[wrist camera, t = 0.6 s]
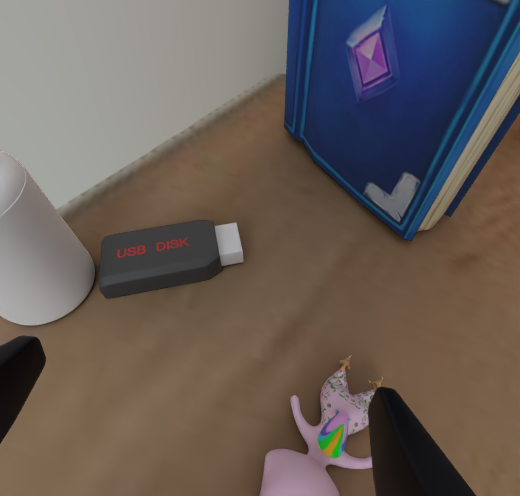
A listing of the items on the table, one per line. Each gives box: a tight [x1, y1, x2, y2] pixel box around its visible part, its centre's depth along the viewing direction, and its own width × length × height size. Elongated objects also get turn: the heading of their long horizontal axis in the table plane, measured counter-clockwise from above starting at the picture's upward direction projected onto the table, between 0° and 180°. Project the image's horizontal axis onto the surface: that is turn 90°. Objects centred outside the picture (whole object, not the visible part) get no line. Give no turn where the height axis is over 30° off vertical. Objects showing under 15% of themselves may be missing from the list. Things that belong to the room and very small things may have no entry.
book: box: [284, 0, 520, 241], centre depth 26 cm, size 22×7×25 cm, turn 33°
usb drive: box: [99, 220, 244, 298], centre depth 28 cm, size 5×12×3 cm, turn 102°
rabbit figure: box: [260, 355, 383, 496], centre depth 18 cm, size 6×6×15 cm
